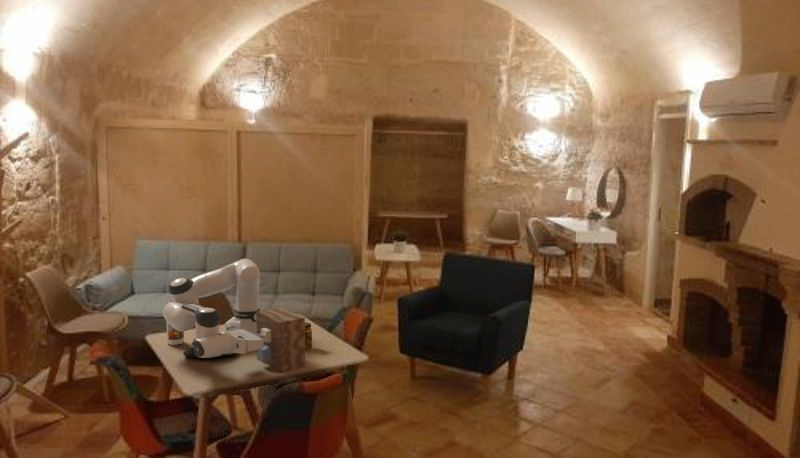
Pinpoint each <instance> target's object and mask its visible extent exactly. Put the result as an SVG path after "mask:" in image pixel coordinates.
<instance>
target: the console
mask: <svg viewBox="0 0 800 458" xmlns="http://www.w3.org/2000/svg"><path fill="white" fill-rule="evenodd" d="M305 319H306V317H304V316H301V315H298V314H296V313H295V312H292V311H289V310H287V309H284V308H282V307H276V308H270V309H265V310H260V311H258V312H256V320H257V334H261V329H263V328H268V329H270V330H271V342H267V343H266V342H264V346H266V345H267V346H269V347H271V349H272V359H271V360H267V361H262V360H260V359H258V350H256V354H257V355H256V356H257V357H256V358H257V360H258V361H260V362H262V363H263V364H265V365H268V366H269V367H271V368H272V369H274V370H276V371H278V373H279V372H280V373H285V372H288V371H292V370H293V371H294V370H297V369H300V368H304V367H306V351H305V323H306V320H305Z"/></svg>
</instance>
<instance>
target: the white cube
mask: <svg viewBox="0 0 800 458" xmlns="http://www.w3.org/2000/svg"><path fill="white" fill-rule="evenodd" d="M261 333H262V334H264V335H265V339H264V342H266V343H267V342H271V330H270V329H268V328H263V329H261Z"/></svg>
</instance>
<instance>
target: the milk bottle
mask: <svg viewBox="0 0 800 458" xmlns="http://www.w3.org/2000/svg"><path fill="white" fill-rule="evenodd" d="M184 333H185V331H178V330H176V329H174V328H173V327H172V326H171V325H170V324H169V323H168V322H167V321H166V342H167V345H168V344H170V345H169V346H178V344H180V345H182V344H184V342H185V334H184Z"/></svg>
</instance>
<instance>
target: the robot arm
mask: <svg viewBox="0 0 800 458" xmlns="http://www.w3.org/2000/svg"><path fill="white" fill-rule="evenodd" d="M260 275H261V272H260V268H259V267H258V265H257V264H256V263H255V262H254V261H253V260H251V259H249V258H242V259H239V260H237V261H235V262H231V263H230V264H227V265H225V266H222V267H221V268H217V269H214V270H211V271H209V272H205V273H202V274H200V275H197V276H194V277H193V278H191V279H190V278H186V277H178V278H176V279H173V280H172V281H171V282H170V283H169V285H168V293H169V294H170V299H171V301H169V302H168V303H166V305H164V307H163V310H162V316H163V318H164V319H165V321H166V323H167V322H168V323H169V324H170V325H171V326H172V327H173V328H174V329H176V330H178V331H184V332H188V331H190V330H191V329H193V328H194V327H195V329H194V330H195V334H194V338H195V342H194V345H192V347H193V349H194V352H195V354H196V356H198V357H199V358H200V359H203V358H209V357H216V356H220V355H222V354H230V353H236V354H240V355H245V354H247V353H248V352H249V353H250V352H254V351H257V350H258V349H261V348H263V347H264V339H265V335H264V334H262V333H261V334H257V320H256V312H258V311H261V308H260V298H259V297H260V293H259V292H260V281H261V276H260ZM235 286H236V294H235V295H236V298H235V299H236V300H235V301H236V302H235V303H236V309H234V310H232V313H234V316H233V317H231V318H230V319H228V320H227V321H226V322H225V323H224V328H223V330H222V331H221V332H220V323H221V314H220V312H219V311H218V310H217V309H216V308H213V307H205V306H203V305H201V304H200V303H199V299H200V298H205V297H209V296H213V295H214V294H215V295H216V294H218V293H221V292H224V291H227V290H229V289H231V288H233V287H235ZM219 333H221V335H219ZM198 357H197V358H198ZM199 358H198V359H199Z"/></svg>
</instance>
